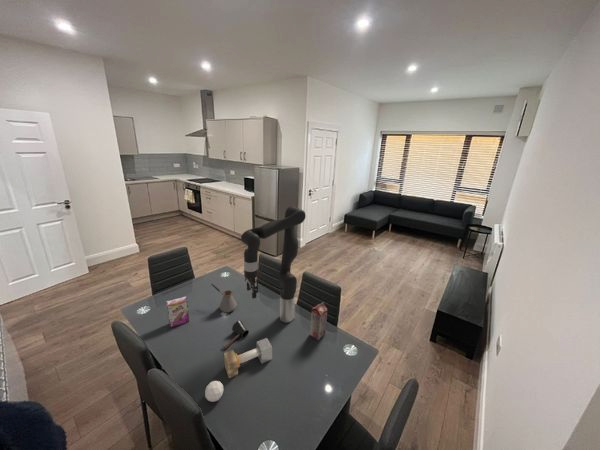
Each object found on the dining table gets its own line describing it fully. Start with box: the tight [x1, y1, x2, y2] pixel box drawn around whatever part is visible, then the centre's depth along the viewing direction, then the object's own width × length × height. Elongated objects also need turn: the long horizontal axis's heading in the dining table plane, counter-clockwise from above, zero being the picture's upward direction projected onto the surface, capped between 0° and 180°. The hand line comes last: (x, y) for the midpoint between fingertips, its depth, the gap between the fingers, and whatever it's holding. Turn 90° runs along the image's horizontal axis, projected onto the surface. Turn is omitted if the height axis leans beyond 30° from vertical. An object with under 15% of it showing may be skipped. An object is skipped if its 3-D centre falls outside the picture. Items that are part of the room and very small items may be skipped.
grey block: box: [256, 337, 273, 365], centre depth 129 cm, size 6×7×8 cm
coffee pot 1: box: [210, 283, 238, 313], centre depth 167 cm, size 21×12×15 cm, turn 61°
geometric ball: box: [204, 380, 224, 403], centre depth 107 cm, size 8×8×8 cm
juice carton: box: [309, 301, 328, 341], centre depth 144 cm, size 7×7×22 cm
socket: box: [223, 349, 239, 379], centre depth 120 cm, size 4×8×9 cm, turn 31°
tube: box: [234, 347, 261, 369], centre depth 125 cm, size 18×7×7 cm, turn 121°
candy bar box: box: [165, 296, 190, 328], centre depth 149 cm, size 11×5×16 cm, turn 123°
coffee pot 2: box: [222, 319, 250, 351], centre depth 141 cm, size 8×18×8 cm
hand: (251, 293), depth 134 cm, fingers open, 8 cm apart
